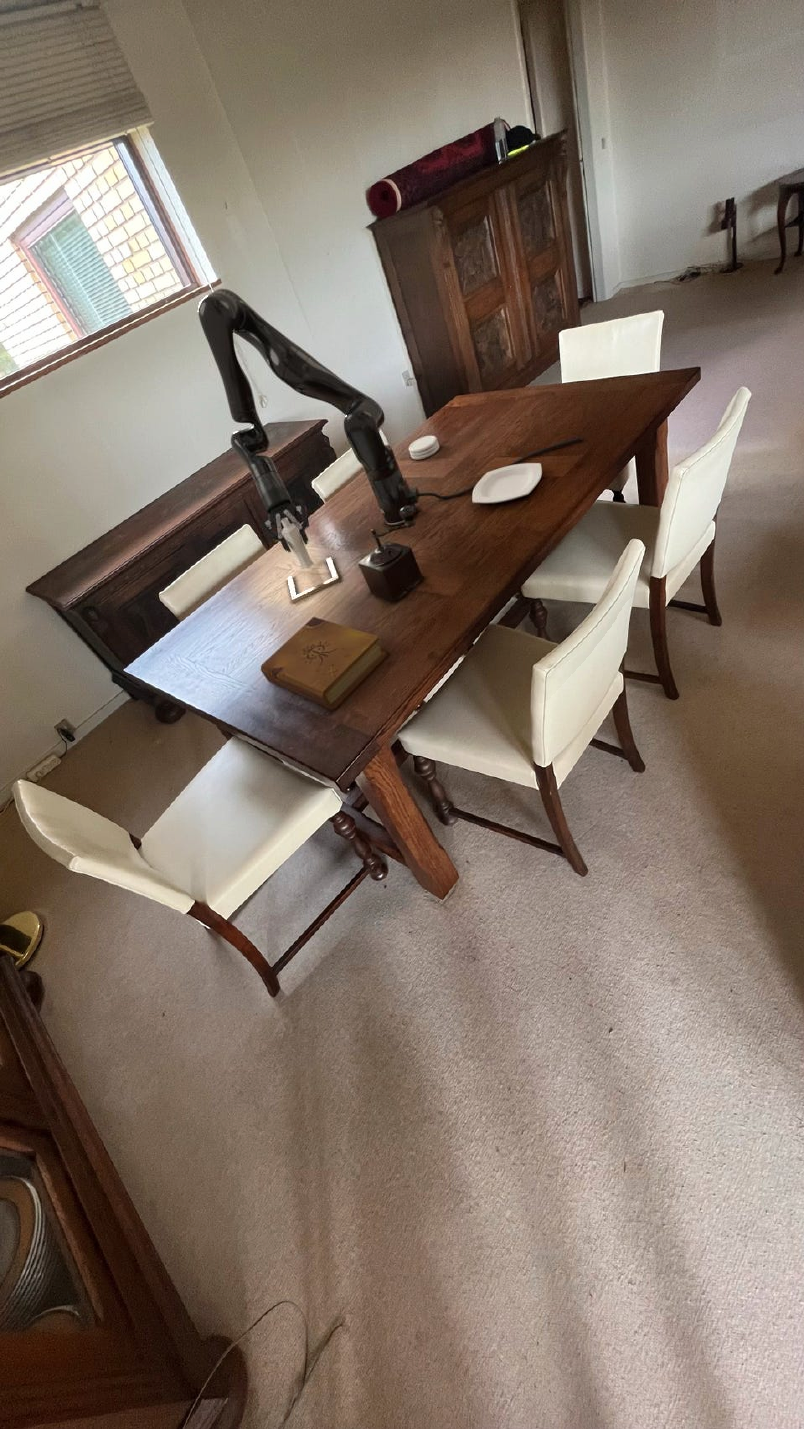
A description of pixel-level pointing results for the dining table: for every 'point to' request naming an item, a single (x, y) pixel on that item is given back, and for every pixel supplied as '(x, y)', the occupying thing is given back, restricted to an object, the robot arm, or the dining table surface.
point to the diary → (323, 662)
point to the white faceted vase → (296, 543)
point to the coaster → (424, 447)
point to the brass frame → (316, 588)
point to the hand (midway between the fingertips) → (297, 547)
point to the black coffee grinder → (392, 564)
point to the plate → (507, 483)
